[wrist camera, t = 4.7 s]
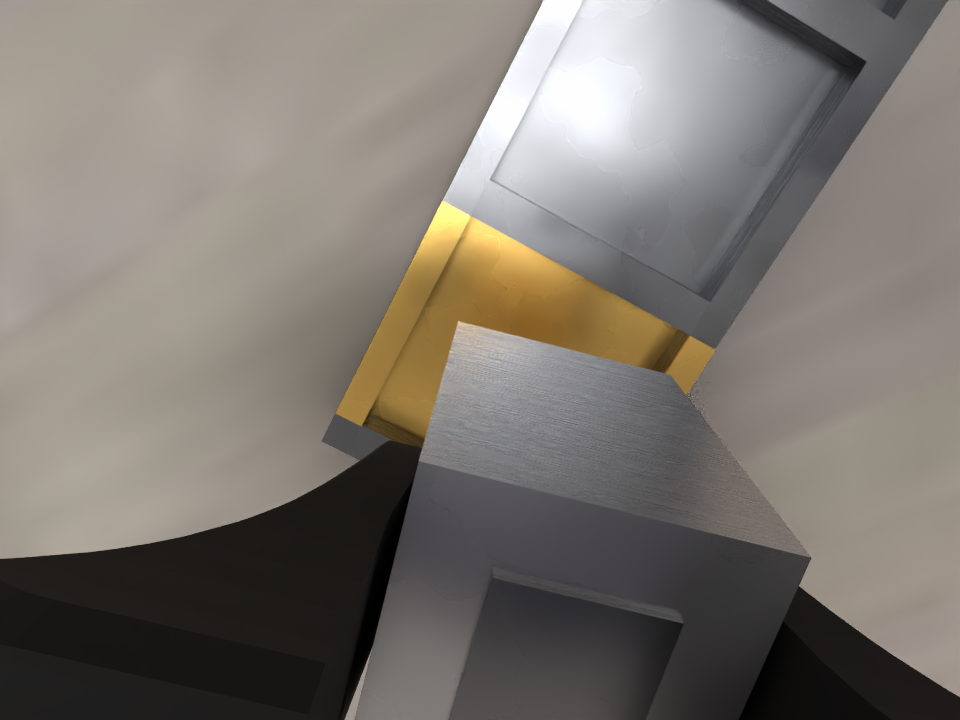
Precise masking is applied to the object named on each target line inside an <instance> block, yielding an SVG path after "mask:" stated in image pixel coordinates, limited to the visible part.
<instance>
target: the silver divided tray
mask: <svg viewBox="0 0 960 720" xmlns="http://www.w3.org/2000/svg"><path fill="white" fill-rule="evenodd" d="M947 1H948V0H544V1H543V3H542V5H541V7H540V9H539V11H538V13H537V15H536V17H535V19H534V21H533V23H532V25H531V27H530V29H529V31H528V33H527V35H526V37H525V39H524V41H523V43H522V44H521V46H520V48H519V50H518V52H517V54H516V56H515V58H514V60H513V62H512V64H511V66H510V68H509V70H508V72H507V74H506V76H505V78H504V80H503V82H502V84H501V86H500V88H499V90H498V92H497V94H496V96H495V98H494V100H493V102H492V104H491V106H490V108H489V110H488V112H487V114H486V116H485V118H484V120H483V122H482V124H481V126H480V128H479V130H478V132H477V134H476V136H475V138H474V140H473V142H472V144H471V146H470V148H469V150H468V152H467V154H466V156H465V158H464V160H463V162H462V164H461V166H460V168H459V169H458V171H457V173H456V175H455V177H454V179H453V181H452V183H451V185H450V187H449V189H448V191H447V193H446V195H445V197H444V199H443V201H442V203H441V205H440V207H439V209H438V211H437V213H436V215H435V217H434V219H433V221H432V223H431V225H430V227H429V229H428V231H427V233H426V235H425V237H424V239H423V240H422V242H421V244H420V246H419V248H418V250H417V252H416V254H415V256H414V258H413V260H412V262H411V264H410V266H409V268H408V270H407V272H406V274H405V276H404V278H403V280H402V282H401V284H400V286H399V288H398V290H397V292H396V294H395V296H394V298H393V300H392V302H391V304H390V306H389V308H388V310H387V312H386V314H385V316H384V318H383V320H382V322H381V324H380V326H379V328H378V330H377V332H376V334H375V336H374V338H373V340H372V342H371V344H370V346H369V348H368V350H367V352H366V354H365V356H364V358H363V360H362V362H361V364H360V366H359V367H358V369H357V371H356V373H355V375H354V377H353V379H352V381H351V383H350V385H349V387H348V389H347V391H346V393H345V395H344V397H343V399H342V401H341V403H340V405H339V407H338V409H337V411H336V414H335V416H334V417H333V419H332V421H331V423H330V425H329V427H328V429H327V431H326V433H325V435H324V437H323V439H322V442H324V443H326V444H328V445H330V446H332V447H334V448H336V449H338V450H340V451H342V452H345V453H347V454H349V455H351V456H353V457H355V458H357V459H359V460H361V459H363V458H364V457H366V456H367V455H368V454H370V453H371V452H372V451H374V450H375V449H376V448H378V447H379V446H380V445H382V444H384V443H385V442H387V441H389V440H391V441H395V442H399V443H403V444H407V445H412V446H416V447H420V448H423V444H424V441H425V437H426V434H427V430H428V426H429V423H430V419H431V416H432V412H433V409H434V405H435V402H436V398H437V395H438V391H439V388H440V384H441V380H442V377H443V373H444V370H445V366H446V363H447V359H448V356H449V352H450V349H451V345H452V342H453V338H454V335H455V331H456V327H457V324H458V321H460V322H464V323H468V324H472V325H476V326H480V327H484V328H488V329H491V330H495V331H499V332H503V333H507V334H511V335H515V336H519V337H523V338H527V339H531V340H535V341H539V342H543V343H547V344H550V345H554V346H558V347H562V348H566V349H570V350H574V351H578V352H582V353H586V354H590V355H594V356H598V357H602V358H606V359H610V360H613V361H617V362H621V363H625V364H629V365H633V366H637V367H641V368H645V369H649V370H653V371H657V372H661V373H665V374H669V375H671V376H672V378H673V379H674V380H675V382H676V383H677V384H678V386H679V387H680V388H681V389H682V391H683V392H684V393H685V395H686V394H687V393H688V391H689V390H690V388H691V387H692V385H693V384H694V382H695V381H696V379H697V378H698V376H699V375H700V373H701V372H702V370H703V369H704V367H705V366H706V364H707V363H708V361H709V360H710V358H711V357H712V355H713V354H714V352H715V351H716V350H715V348H716V347H717V345H718V344H719V342H720V341H721V339H722V338H723V336H724V335H725V333H726V332H727V330H728V329H729V327H730V326H731V324H732V323H733V321H734V320H735V318H736V317H737V315H738V314H739V312H740V311H741V309H742V308H743V306H744V305H745V303H746V302H747V300H748V299H749V297H750V296H751V294H752V293H753V291H754V290H755V288H756V287H757V285H758V284H759V282H760V281H761V279H762V278H763V276H764V275H765V273H766V272H767V270H768V269H769V267H770V266H771V264H772V263H773V261H774V260H775V258H776V257H777V255H778V254H779V252H780V251H781V249H782V248H783V246H784V245H785V243H786V242H787V240H788V239H789V237H790V236H791V234H792V233H793V231H794V230H795V228H796V227H797V225H798V224H799V222H800V221H801V219H802V218H803V216H804V215H805V214H806V212H807V211H808V209H809V208H810V206H811V205H812V203H813V202H814V200H815V199H816V197H817V196H818V194H819V193H820V191H821V190H822V188H823V187H824V185H825V184H826V182H827V181H828V179H829V178H830V176H831V175H832V173H833V172H834V170H835V169H836V167H837V166H838V164H839V163H840V161H841V160H842V158H843V157H844V155H845V154H846V152H847V151H848V149H849V148H850V146H851V145H852V143H853V142H854V140H855V139H856V137H857V136H858V134H859V133H860V131H861V130H862V128H863V127H864V125H865V124H866V122H867V121H868V119H869V118H870V116H871V115H872V113H873V112H874V110H875V109H876V107H877V106H878V104H879V103H880V101H881V100H882V98H883V97H884V95H885V94H886V92H887V91H888V89H889V88H890V86H891V85H892V83H893V82H894V80H895V79H896V77H897V76H898V74H899V73H900V71H901V70H902V68H903V67H904V65H905V64H906V62H907V61H908V59H909V58H910V56H911V55H912V53H913V52H914V50H915V49H916V47H917V46H918V44H919V43H920V41H921V40H922V38H923V37H924V35H925V34H926V32H927V31H928V29H929V28H930V26H931V25H932V23H933V22H934V20H935V19H936V17H937V16H938V14H939V13H940V11H941V10H942V8H943V7H944V5H945V4H946V2H947Z"/></svg>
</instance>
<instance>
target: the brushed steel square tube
mask: <svg viewBox="0 0 960 720" xmlns="http://www.w3.org/2000/svg"><path fill="white" fill-rule="evenodd" d="M810 560H811V557H810V555H809V554H808V553H807V551H806V550H805V549H804V547H803V546H802V545H801V544H800V542H799V541H798V540H797V538H796V537H795V536H794V534H793V533H792V532H791V531H790V529H789V528H788V527H787V525H786V524H785V523H784V522H783V520H782V519H781V518H780V516H779V515H778V514H777V512H776V511H775V510H774V509H773V507H772V506H771V505H770V503H769V502H768V501H767V500H766V498H765V497H764V496H763V494H762V493H761V492H760V490H759V489H758V488H757V487H756V485H755V484H754V483H753V481H752V480H751V479H750V477H749V476H748V475H747V474H746V472H745V471H744V470H743V468H742V467H741V466H740V465H739V463H738V462H737V461H736V459H735V458H734V457H733V455H732V454H731V453H730V452H729V450H728V449H727V448H726V446H725V445H724V444H723V443H722V441H721V440H720V439H719V437H718V436H717V435H716V433H715V432H714V431H713V430H712V428H711V427H710V426H709V424H708V423H707V422H706V420H705V419H704V418H703V417H702V415H701V414H700V413H699V411H698V410H697V409H696V408H695V406H694V405H693V404H692V402H691V401H690V400H689V398H688V397H687V396H686V395H685V393H684V392H683V391H682V389H681V388H680V387H679V386H678V384H677V383H676V382H675V380H674V379H673V378H672V376H671V375H669V374H665V373H661V372H657V371H653V370H649V369H645V368H641V367H637V366H633V365H629V364H625V363H621V362H617V361H613V360H610V359H606V358H602V357H598V356H594V355H590V354H586V353H582V352H578V351H574V350H570V349H566V348H562V347H558V346H554V345H550V344H547V343H543V342H539V341H535V340H531V339H527V338H523V337H519V336H515V335H511V334H507V333H503V332H499V331H495V330H491V329H488V328H484V327H480V326H476V325H472V324H468V323H464V322H460V321H458V324H457V327H456V331H455V335H454V338H453V342H452V345H451V349H450V352H449V356H448V359H447V363H446V366H445V370H444V373H443V377H442V380H441V384H440V388H439V391H438V395H437V398H436V402H435V405H434V409H433V412H432V416H431V419H430V423H429V426H428V430H427V434H426V437H425V441H424V444H423V448H422V451H421V455H420V458H419V462H418V466H417V470H416V474H415V478H414V482H413V486H412V490H411V494H410V498H409V502H408V506H407V510H406V514H405V518H404V522H403V526H402V531H401V535H400V539H399V543H398V547H397V551H396V555H395V559H394V563H393V567H392V571H391V575H390V579H389V583H388V587H387V591H386V595H385V599H384V603H383V607H382V611H381V615H380V619H379V623H378V627H377V631H376V635H375V639H374V643H373V648H372V652H371V656H370V660H369V664H368V668H367V672H366V676H365V680H364V684H363V688H362V692H361V696H360V700H359V704H358V708H357V712H356V716H355V720H739V718H740V716H741V713H742V711H743V709H744V707H745V704H746V702H747V700H748V698H749V695H750V693H751V691H752V689H753V687H754V684H755V682H756V680H757V678H758V675H759V673H760V671H761V669H762V667H763V664H764V662H765V660H766V658H767V655H768V653H769V651H770V649H771V646H772V644H773V642H774V640H775V638H776V635H777V633H778V631H779V629H780V626H781V624H782V622H783V620H784V617H785V615H786V613H787V611H788V609H789V606H790V604H791V602H792V600H793V597H794V595H795V593H796V591H797V589H798V586H799V584H800V582H801V580H802V577H803V575H804V573H805V571H806V568H807V566H808V564H809V562H810Z"/></svg>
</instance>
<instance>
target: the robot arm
mask: <svg viewBox="0 0 960 720" xmlns="http://www.w3.org/2000/svg"><path fill="white" fill-rule="evenodd" d="M421 451H422V448H420V447H416V446H412V445H407V444H403V443H399V442H395V441H391V440H389V441H387V442H385V443H384V444H382V445H380V446H379V447H378V448H376V449H375V450H374V451H372V452H371V453H370V454H368V455H367V456H366V457H364V458H363V459H361V460H360V461H359V462H357V463H356V464H354V465H353V466H351V467H350V468H348V469H347V470H345V471H344V472H342V473H341V474H339V475H337V476H336V477H334V478H333V479H331V480H330V481H328V482H326V483H325V484H323V485H321V486H319V487H317V488H316V489H314V490H312V491H310V492H308V493H306V494H304V495H302V496H301V497H299V498H297V499H295V500H293V501H291V502H288V503H286V504H284V505H282V506H279V507H277V508H274V509H272V510H269V511H266V512H264V513H261V514H259V515H256V516H253V517H251V518H248V519H245V520H242V521H239V522H235V523H232V524H228V525H224V526H221V527H217V528H214V529H210V530H206V531H203V532H199V533H195V534H192V535H188V536H184V537H180V538H175V539H170V540H165V541H160V542H155V543H150V544H144V545H137V546H131V547H125V548H118V549H112V550H104V551H96V552H87V553H75V554H62V555H50V556H38V557H25V558H11V559H0V720H344V719H345V717H346V714H347V712H348V709H349V706H350V704H351V701H352V699H353V696H354V693H355V691H356V688H357V686H358V683H359V680H360V678H361V675H362V673H363V670H364V667H365V665H366V662H367V659H368V657H369V654H370V652H371V649H372V646H373V643H374V639H375V635H376V631H377V627H378V623H379V619H380V615H381V611H382V607H383V603H384V599H385V595H386V591H387V587H388V583H389V579H390V575H391V571H392V567H393V563H394V559H395V555H396V551H397V547H398V543H399V539H400V535H401V531H402V526H403V522H404V518H405V514H406V510H407V506H408V502H409V498H410V494H411V490H412V486H413V482H414V478H415V474H416V470H417V466H418V462H419V458H420V455H421ZM739 720H960V697H958V696H957V695H955V694H953V693H952V692H950V691H948V690H947V689H945V688H943V687H942V686H940V685H939V684H937V683H935V682H934V681H932V680H931V679H929V678H928V677H926V676H925V675H923V674H921V673H920V672H918V671H917V670H915V669H914V668H912V667H910V666H909V665H907V664H906V663H904V662H903V661H901V660H899V659H898V658H896V657H895V656H893V655H892V654H890V653H889V652H887V651H886V650H884V649H883V648H882V647H880V646H879V645H877V644H876V643H874V642H873V641H871V640H870V639H869V638H867V637H866V636H864V635H863V634H862V633H860V632H859V631H858V630H856V629H855V628H853V627H852V626H851V625H849V624H848V623H847V622H845V621H844V620H842V619H841V618H840V617H838V616H837V615H836V614H834V613H833V612H832V611H830V610H829V609H828V608H826V607H825V606H824V605H822V604H821V603H820V602H818V601H817V600H816V599H815V598H813V597H812V596H811V595H809V594H808V593H807V592H806V591H804V590H803V589H802V588H800V587H799V586H798V589H797V591H796V593H795V595H794V597H793V600H792V602H791V604H790V606H789V609H788V611H787V613H786V615H785V617H784V620H783V622H782V624H781V626H780V629H779V631H778V633H777V635H776V638H775V640H774V642H773V644H772V646H771V649H770V651H769V653H768V655H767V658H766V660H765V662H764V664H763V667H762V669H761V671H760V673H759V675H758V678H757V680H756V682H755V684H754V687H753V689H752V691H751V693H750V695H749V698H748V700H747V702H746V704H745V707H744V709H743V711H742V713H741V716H740V718H739Z"/></svg>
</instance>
